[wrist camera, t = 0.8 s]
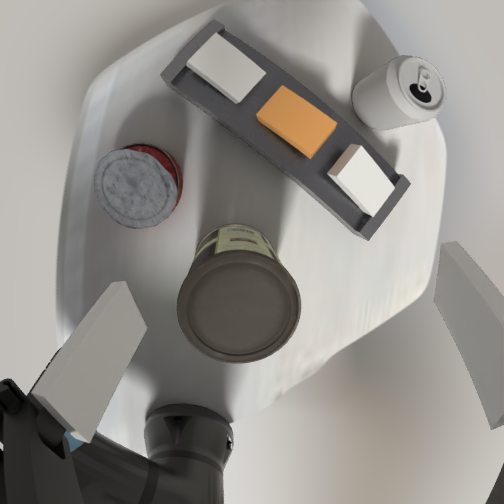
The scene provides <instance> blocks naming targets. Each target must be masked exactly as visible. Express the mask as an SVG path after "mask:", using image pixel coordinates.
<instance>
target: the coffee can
mask: <svg viewBox="0 0 504 504" xmlns="http://www.w3.org/2000/svg"><path fill="white" fill-rule="evenodd" d="M300 314H301V299H300V294H299V290H298V287H297V285H296V283H295V281H294V279H293V278H292V276H291V275H290V274H289V272H288V271H287V270H286V269H285V268H284V266H283V265H282V263H281V261H280V260H279V258H278V256H277V255H276V253H275V252H274V250H273V248H272V246H271V244H270V242H269V241H268V239H267V238H266V237H265V236H264V235H263V234H262V233H260V232H259V231H258V230H256V229H254V228H252V227H249V226H246V225H240V224H231V225H225V226H221V227H219V228H217V229H215V230H213V231H211V232H210V233H209V234H208V235H207V236H206V237H205V238H204V239H203V240H202V241H201V243H200V244H199V246H198V248H197V250H196V254H195V258H194V260H193V263H192V265H191V268H190V270H189V273H188V275H187V277H186V278H185V280H184V282H183V284H182V286H181V288H180V291H179V294H178V299H177V316H178V321H179V324H180V327H181V329H182V331H183V333H184V335H185V336H186V338H187V339H188V341H189V342H190V343H191V344H192V345H193V346H194V347H195V348H196V349H197V350H199V351H200V352H201V353H203V354H205V355H207V356H208V357H210V358H212V359H215V360H218V361H222V362H227V363H249V362H254V361H258V360H261V359H264V358H266V357H268V356H270V355H272V354H273V353H275V352H277V351H278V350H279V349H280V348H282V347H283V346H284V345H285V344H286V343H287V342H288V340H289V339H290V338H291V336H292V335H293V333H294V332H295V330H296V327H297V325H298V322H299V319H300Z"/></svg>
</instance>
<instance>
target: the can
mask: <svg viewBox="0 0 504 504" xmlns="http://www.w3.org/2000/svg"><path fill="white" fill-rule="evenodd" d="M445 101H446V87H445V84H444V81H443V79H442V77H441V75H440V73H439V72H438V70H437V69H436V68H435V67H434V66H433V65H432V64H431V63H429V62H428V61H427V60H424V59H422V58H420V57H413V56H405V55H403V56H399V57H396V58H394V59H393V60H391V61H389V62H388V63H386V64H385V65H383V66H382V67H380V68H379V69H377V70H375V71H374V72H372V73H371V74H369V75H368V76H366V77H365V78H363V79H362V80H360V81H359V82H358V83H357V84H356V85H355V88H354V90H353V93H352V102H353V107H354V110H355V112H356V114H357V115H358V117H359V118H360V119H361V120H362V121H363V123H364V124H366V125H367V126H369V127H371V128H372V129H376V130H379V131H383V130H390V129H394V128H398V127H403V126H407V125H411V124H416V123H420V122H425V121H429V120H431V119H433V118H435V117H436V116H437V115H438V113H439V112H440V111H441V109H442V108H443V106H444V105H445Z"/></svg>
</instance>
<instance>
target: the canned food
mask: <svg viewBox="0 0 504 504" xmlns="http://www.w3.org/2000/svg"><path fill="white" fill-rule="evenodd" d="M94 180H95V192H96V195H97V197H98V199H99V202H100V204H101V206H102V207H103V208H104V210H105V211H106V212H107V213H108V214H109V215H110V217H111V218H112V219H114V220H115V221H116V222H118V223H119V224H121V225H123V226H126V227H129V228H135V229H142V228H147V227H151V226H156V225H157V224H159V223H160V222H161V221H163V220H164V219H166V218H168V217H169V215H170V213H171V212H172V211H173V210H174V209H175V207H176V206H177V204H178V202H179V200H180V197H181V194H182V189H183V180H182V174H181V171H180V168H179V166H178V164H177V162H176V161H175V159H174V158H173V157H172V156H171V155H170V154H169V153H167V152H166V151H164V150H163V149H160V148H158V147H156V146H153V145H151V144H145V143H135V144H131V145H127V146H125V147H123V148H121V149H119V150H116V151H111V152H110V153H109V154H108V155H106V156H105V157H104V158H103V159H102V160H101V161H99V164H98V167H97V170H96V172H95V175H94Z"/></svg>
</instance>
